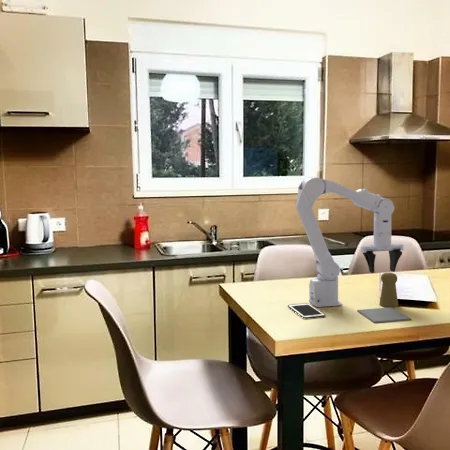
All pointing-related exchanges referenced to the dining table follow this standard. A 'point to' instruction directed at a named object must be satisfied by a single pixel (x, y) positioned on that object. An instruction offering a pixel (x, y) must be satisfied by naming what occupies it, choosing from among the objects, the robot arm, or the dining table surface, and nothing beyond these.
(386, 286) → the cork
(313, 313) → the cell phone
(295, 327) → the dining table surface
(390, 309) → the slate mat
